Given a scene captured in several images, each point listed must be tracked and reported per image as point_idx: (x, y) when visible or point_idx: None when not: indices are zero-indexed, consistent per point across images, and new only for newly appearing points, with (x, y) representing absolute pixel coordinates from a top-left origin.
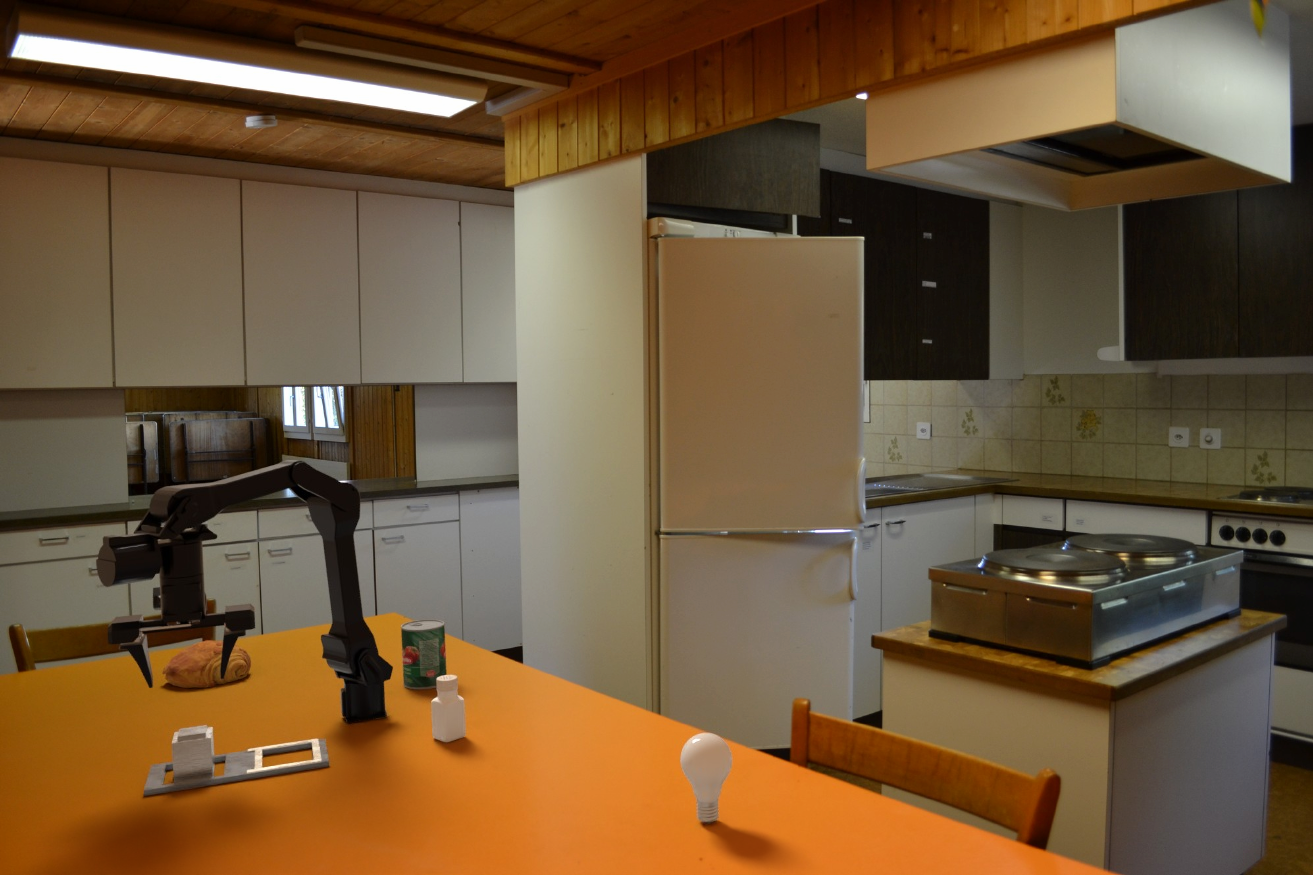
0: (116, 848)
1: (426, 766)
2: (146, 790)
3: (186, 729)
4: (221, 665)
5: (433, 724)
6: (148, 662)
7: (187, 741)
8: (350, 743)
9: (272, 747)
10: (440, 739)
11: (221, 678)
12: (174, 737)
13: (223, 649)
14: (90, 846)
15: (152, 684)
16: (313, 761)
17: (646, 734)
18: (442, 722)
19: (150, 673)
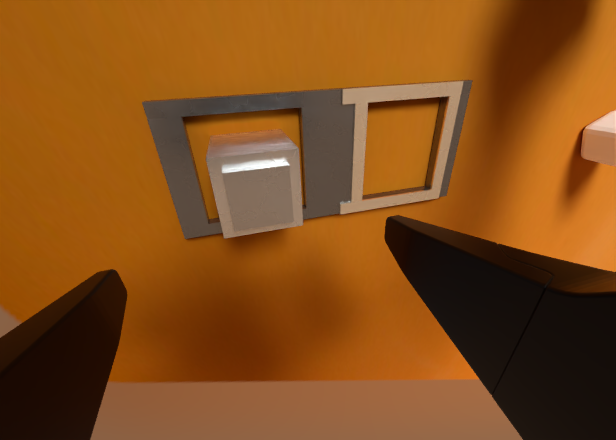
0: (211, 358)
1: (523, 225)
2: (189, 237)
3: (243, 185)
4: (421, 295)
5: (606, 139)
6: (61, 434)
7: (256, 232)
8: (495, 98)
9: (385, 100)
10: (582, 148)
11: (387, 242)
12: (219, 202)
13: (485, 381)
14: (176, 354)
15: (122, 298)
16: (428, 197)
17: None
18: (613, 162)
19: (106, 369)
